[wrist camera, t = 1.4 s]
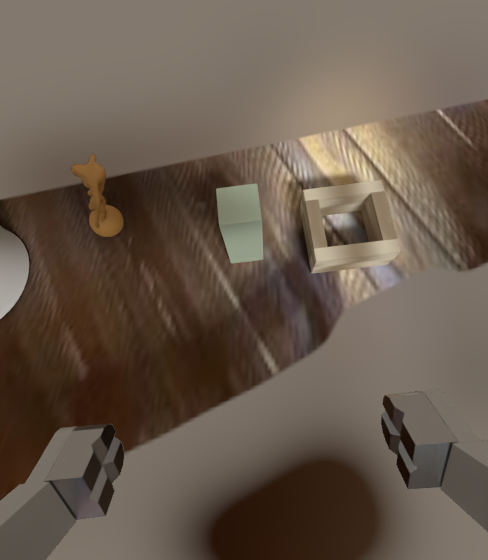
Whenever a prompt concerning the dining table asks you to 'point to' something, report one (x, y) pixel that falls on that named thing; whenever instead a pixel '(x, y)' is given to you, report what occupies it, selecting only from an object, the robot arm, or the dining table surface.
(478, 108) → the dining table surface
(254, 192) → the sage-green peg
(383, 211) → the beige square socket frame
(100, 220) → the figurine
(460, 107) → the dining table surface
